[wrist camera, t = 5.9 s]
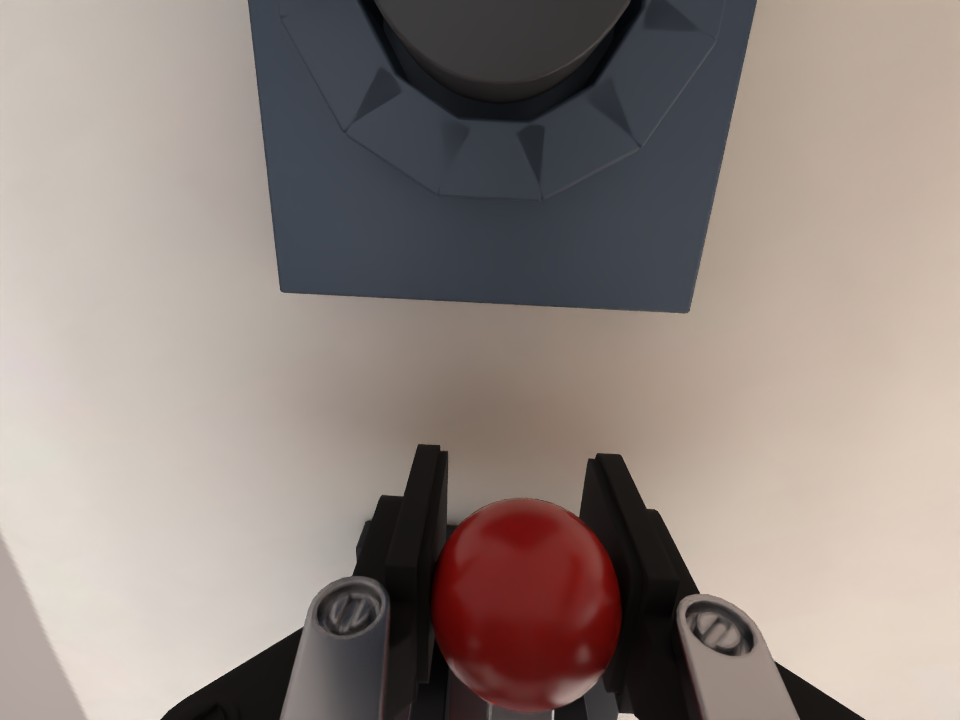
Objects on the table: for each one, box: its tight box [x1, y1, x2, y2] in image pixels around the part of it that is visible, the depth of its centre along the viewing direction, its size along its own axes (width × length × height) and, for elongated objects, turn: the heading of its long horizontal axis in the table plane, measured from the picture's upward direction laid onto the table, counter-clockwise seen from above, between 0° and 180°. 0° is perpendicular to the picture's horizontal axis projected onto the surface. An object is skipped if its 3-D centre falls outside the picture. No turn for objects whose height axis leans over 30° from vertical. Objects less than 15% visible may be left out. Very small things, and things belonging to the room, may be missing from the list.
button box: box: [248, 0, 757, 313], centre depth 8 cm, size 11×9×4 cm
